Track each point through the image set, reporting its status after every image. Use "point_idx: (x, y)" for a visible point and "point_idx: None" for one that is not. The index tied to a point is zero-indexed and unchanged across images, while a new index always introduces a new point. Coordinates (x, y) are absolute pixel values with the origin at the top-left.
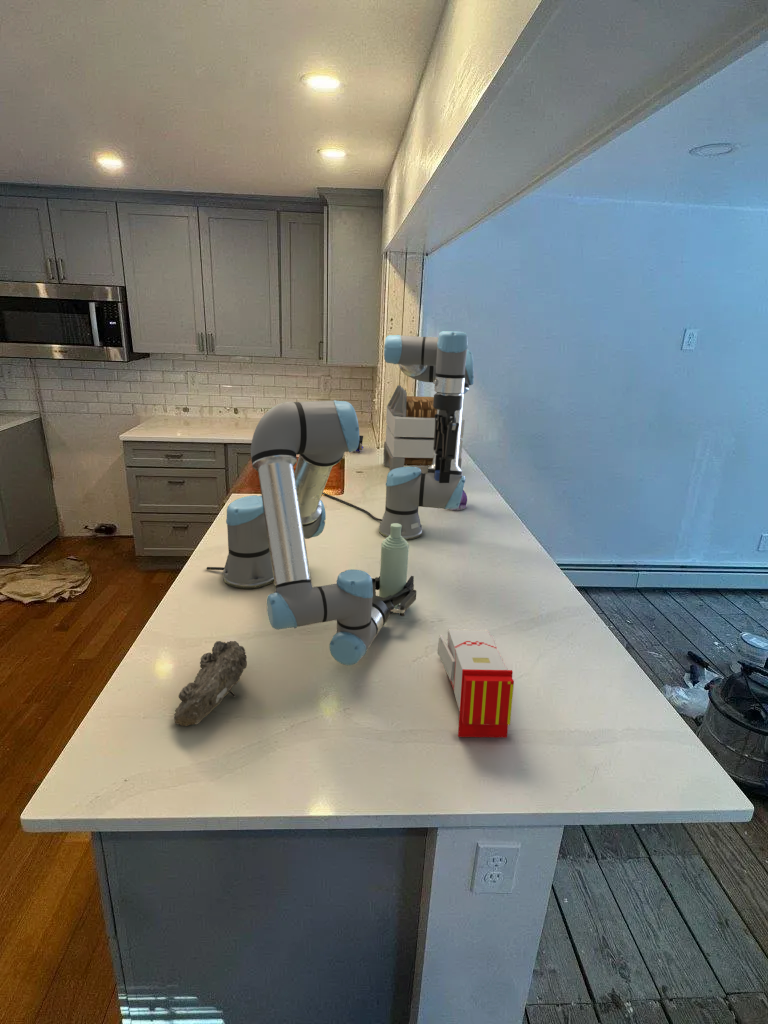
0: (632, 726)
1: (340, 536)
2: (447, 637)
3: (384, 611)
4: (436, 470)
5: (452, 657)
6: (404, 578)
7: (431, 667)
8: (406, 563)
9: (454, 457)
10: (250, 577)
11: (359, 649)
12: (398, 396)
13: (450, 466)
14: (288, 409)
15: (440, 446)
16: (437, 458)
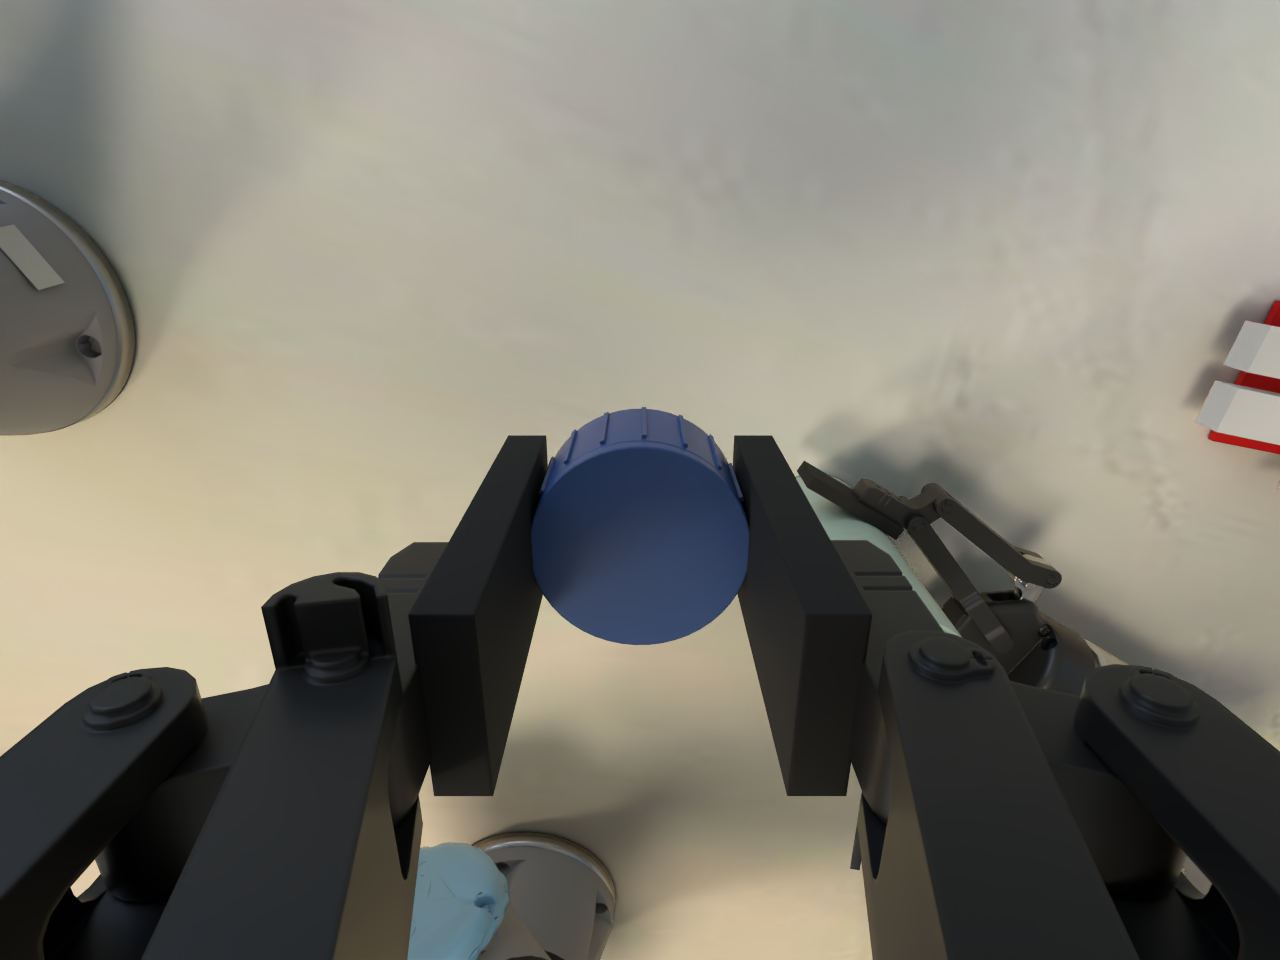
0: None
1: (130, 607)
2: (1200, 424)
3: (1085, 655)
4: (578, 617)
5: None
6: (899, 553)
7: (1220, 481)
8: (919, 583)
9: (1211, 704)
10: (606, 926)
11: None
12: None
13: (828, 540)
14: None
15: (388, 917)
16: (502, 728)
